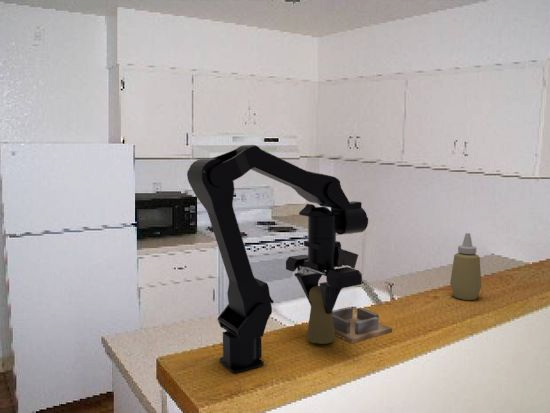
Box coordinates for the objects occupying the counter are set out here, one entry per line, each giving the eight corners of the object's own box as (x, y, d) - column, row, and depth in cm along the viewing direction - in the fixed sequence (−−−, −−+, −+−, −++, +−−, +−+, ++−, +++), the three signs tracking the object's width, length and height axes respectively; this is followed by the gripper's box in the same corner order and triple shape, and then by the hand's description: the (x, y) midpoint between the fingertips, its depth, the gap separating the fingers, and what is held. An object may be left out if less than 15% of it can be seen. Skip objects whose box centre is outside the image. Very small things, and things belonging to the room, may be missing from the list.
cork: (300, 337, 98) (300, 286, 96) (320, 330, 101) (321, 281, 100) (321, 346, 93) (321, 293, 92) (341, 338, 97) (342, 287, 96)
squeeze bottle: (471, 304, 122) (474, 237, 120) (443, 297, 129) (446, 233, 127) (486, 298, 127) (489, 233, 126) (459, 291, 134) (461, 230, 132)
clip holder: (351, 343, 97) (351, 328, 96) (316, 325, 107) (316, 312, 106) (392, 331, 103) (392, 317, 103) (355, 316, 113) (355, 303, 113)
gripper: (383, 239, 91) (381, 315, 93) (324, 227, 107) (323, 293, 109) (339, 245, 86) (338, 326, 87) (284, 231, 101) (284, 301, 103)
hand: (321, 310), depth 97 cm, fingers closed on cork, 5 cm apart
